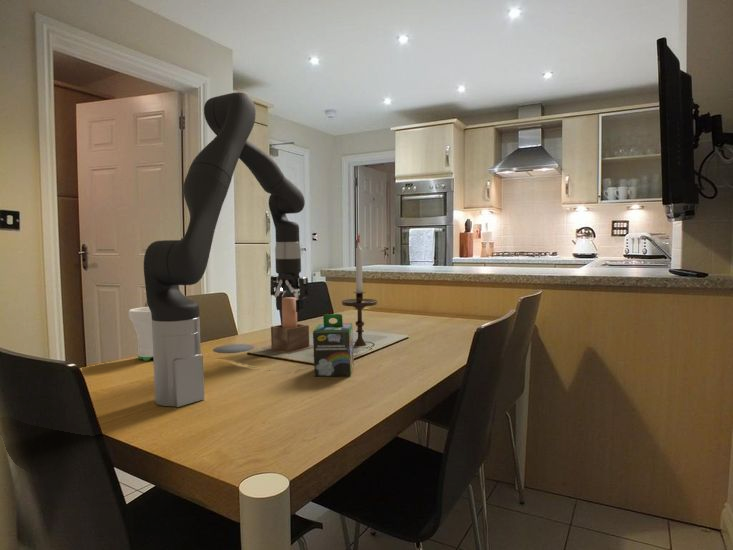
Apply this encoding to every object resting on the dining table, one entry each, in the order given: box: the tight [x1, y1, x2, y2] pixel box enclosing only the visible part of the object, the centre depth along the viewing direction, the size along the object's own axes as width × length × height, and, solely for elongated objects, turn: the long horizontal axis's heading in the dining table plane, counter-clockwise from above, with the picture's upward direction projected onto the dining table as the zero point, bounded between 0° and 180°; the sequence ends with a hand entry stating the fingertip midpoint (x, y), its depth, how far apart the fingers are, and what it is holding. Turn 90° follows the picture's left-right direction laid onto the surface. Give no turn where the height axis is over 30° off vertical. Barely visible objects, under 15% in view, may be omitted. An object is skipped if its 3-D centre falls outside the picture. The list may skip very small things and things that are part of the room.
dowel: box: [281, 296, 298, 329], centre depth 143 cm, size 4×4×15 cm
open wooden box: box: [261, 323, 313, 355], centre depth 144 cm, size 12×12×7 cm
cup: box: [128, 306, 153, 362], centre depth 136 cm, size 11×11×14 cm
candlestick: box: [341, 233, 378, 349], centre depth 145 cm, size 11×11×35 cm
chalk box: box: [312, 313, 355, 377], centre depth 119 cm, size 9×9×15 cm
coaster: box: [212, 343, 255, 354], centre depth 143 cm, size 12×12×1 cm
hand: (289, 310), depth 143 cm, fingers open, 8 cm apart
